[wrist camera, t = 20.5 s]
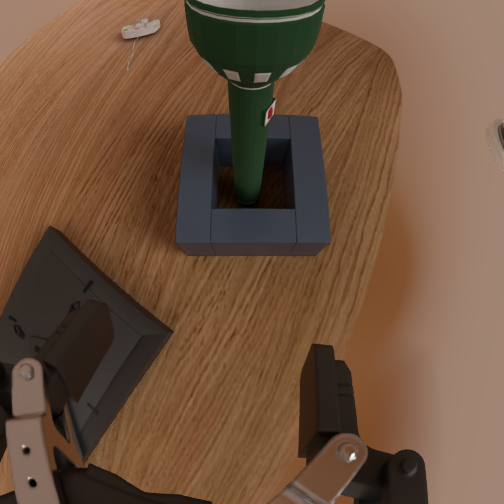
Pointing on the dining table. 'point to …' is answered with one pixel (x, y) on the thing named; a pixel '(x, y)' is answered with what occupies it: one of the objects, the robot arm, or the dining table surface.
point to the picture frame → (53, 313)
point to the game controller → (140, 30)
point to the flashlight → (252, 67)
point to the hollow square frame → (253, 220)
